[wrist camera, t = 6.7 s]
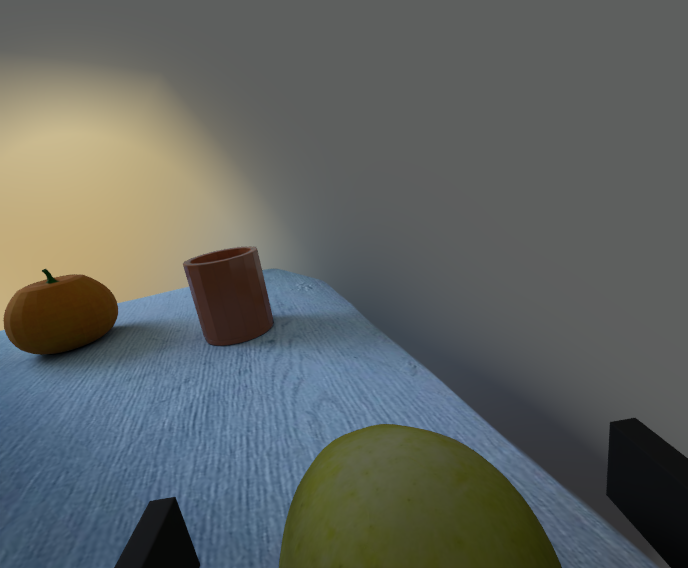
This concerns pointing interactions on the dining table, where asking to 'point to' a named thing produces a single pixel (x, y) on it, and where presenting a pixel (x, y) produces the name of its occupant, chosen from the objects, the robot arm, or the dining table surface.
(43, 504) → the dining table surface
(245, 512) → the dining table surface
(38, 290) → the fruit
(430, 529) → the apple
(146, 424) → the dining table surface
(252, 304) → the cup
